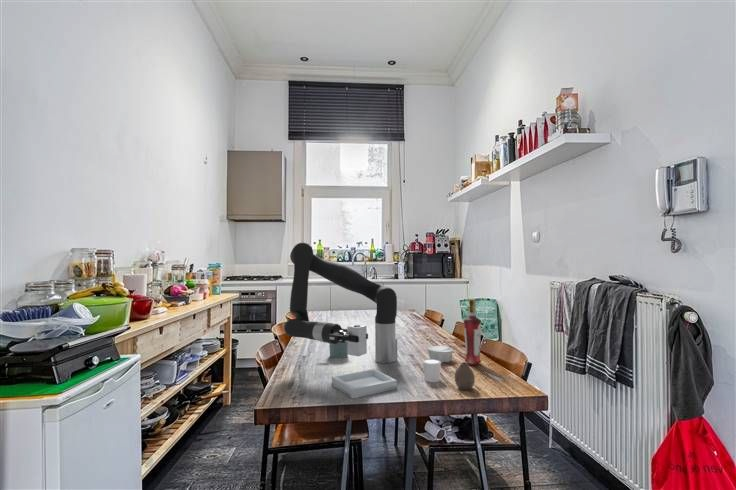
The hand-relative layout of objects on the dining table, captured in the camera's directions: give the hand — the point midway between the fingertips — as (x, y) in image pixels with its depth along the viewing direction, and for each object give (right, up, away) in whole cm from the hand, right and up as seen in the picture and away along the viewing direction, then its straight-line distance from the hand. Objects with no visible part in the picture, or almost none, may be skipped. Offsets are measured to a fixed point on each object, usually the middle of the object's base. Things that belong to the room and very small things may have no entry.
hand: (362, 337), depth 133 cm
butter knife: (+48, -19, +19) cm, 55 cm away
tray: (0, -18, +1) cm, 18 cm away
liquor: (+48, -19, +29) cm, 59 cm away
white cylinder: (+26, -18, +8) cm, 33 cm away
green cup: (-12, -20, +43) cm, 49 cm away
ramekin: (+35, -19, +35) cm, 53 cm away
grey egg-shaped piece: (+36, -18, -1) cm, 40 cm away
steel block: (-2, -6, +1) cm, 7 cm away
